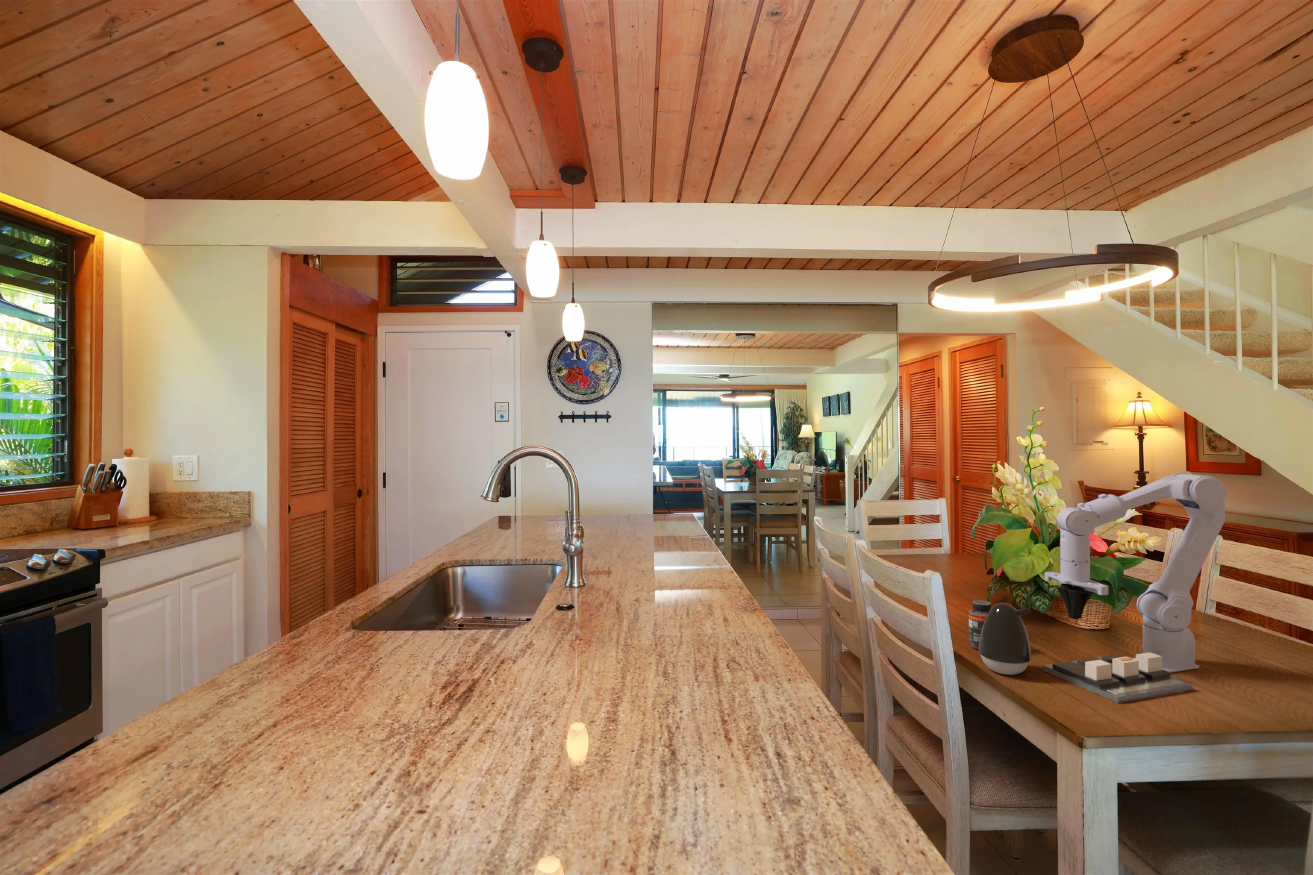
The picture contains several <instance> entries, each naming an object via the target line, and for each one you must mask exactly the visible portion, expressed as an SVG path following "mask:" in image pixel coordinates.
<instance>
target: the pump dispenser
mask: <svg viewBox="0 0 1313 875" xmlns="http://www.w3.org/2000/svg"><path fill="white" fill-rule="evenodd" d="M1029 613H1031V609H1030V608H1029V607H1025V608H1021V609H1016V608H1015V607H1014V606H1013V605H1011V604H1009V603H1006V602H999V603H995V604H994V605H993V606H991V609H990V611H989V613H988V614H987V616H986V619H985V621H984V624H983V627H982V630H981V635H980V641H979V650H978V653H979V654H980V656H981V660H982V662H983V663H984V665H985V666H986V667H987V668H988V669H989V670H991V671H993V672H995V673H996V674H999V675H1005V676H1016V675H1019V674H1021V673H1023V672H1024V671H1025V670H1027V667H1028V666H1029V663H1030V661H1031V660H1032V654H1031V653H1032V652H1031V645H1030V640H1029V636H1028V633H1027V632H1028V631H1027V629H1026V625H1025V624H1024V622H1023V619H1022V618H1021V617H1023V616H1025V615H1027V614H1029Z"/></svg>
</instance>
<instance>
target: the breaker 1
mask: <svg viewBox="0 0 1313 875" xmlns="http://www.w3.org/2000/svg"><path fill="white" fill-rule="evenodd" d="M1085 676H1086V677H1089V678H1091V679H1093V680H1096V681H1098V680H1105V679H1111V664H1110V663H1107V662H1105V661H1102V660H1095V661H1088V662H1085Z"/></svg>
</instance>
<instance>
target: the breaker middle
mask: <svg viewBox="0 0 1313 875" xmlns="http://www.w3.org/2000/svg"><path fill="white" fill-rule="evenodd" d="M1112 673H1115V674H1117V675H1120V676H1122V677H1129V676H1135V675H1139V661H1138V660H1135V659H1133V657H1129V656H1126V657H1120V658H1113V659H1112Z"/></svg>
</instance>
